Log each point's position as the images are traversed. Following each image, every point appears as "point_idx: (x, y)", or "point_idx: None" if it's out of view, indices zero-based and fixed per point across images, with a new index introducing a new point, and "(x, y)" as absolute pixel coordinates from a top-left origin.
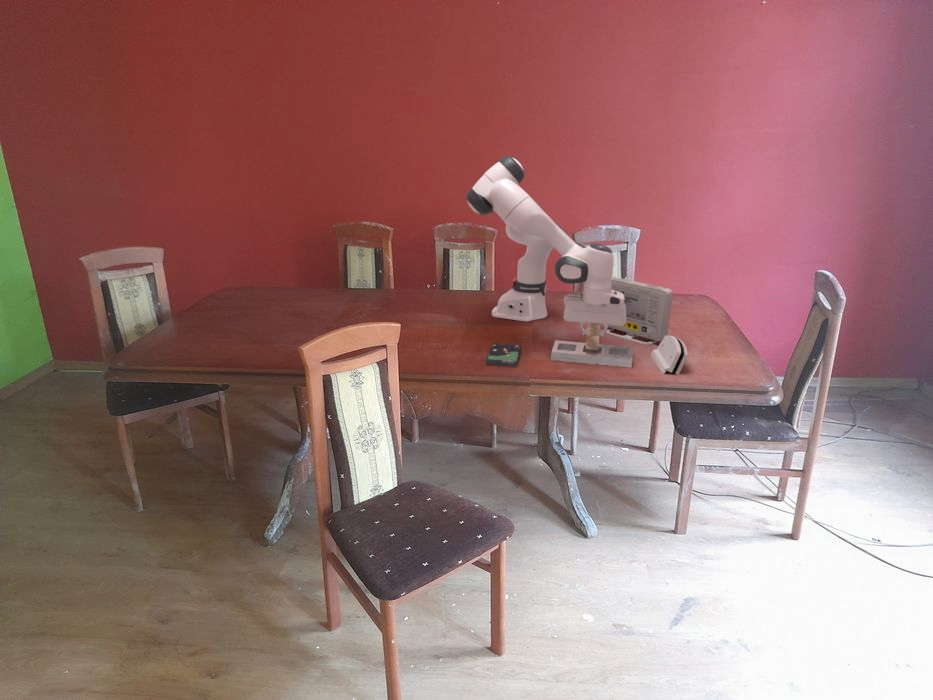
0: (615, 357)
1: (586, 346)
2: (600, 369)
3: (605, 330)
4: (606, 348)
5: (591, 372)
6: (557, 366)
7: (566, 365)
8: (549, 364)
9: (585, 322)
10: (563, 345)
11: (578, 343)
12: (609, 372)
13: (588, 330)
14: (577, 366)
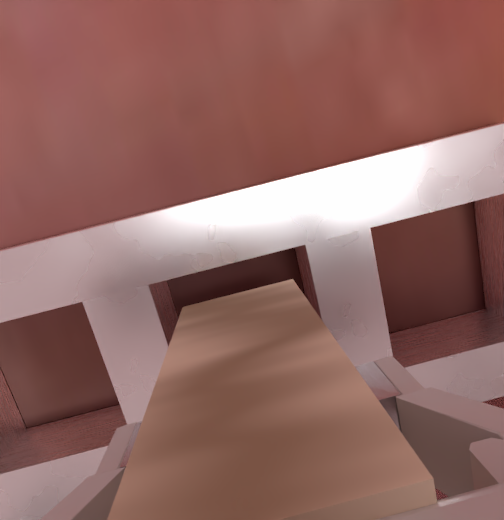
0: (1, 255)
1: (291, 287)
2: (113, 127)
3: (59, 503)
4: None
5: (153, 32)
6: (426, 26)
7: (368, 80)
8: (491, 37)
9: (498, 487)
10: (486, 335)
11: None
12: (30, 101)
13: (332, 375)
14: (288, 101)
